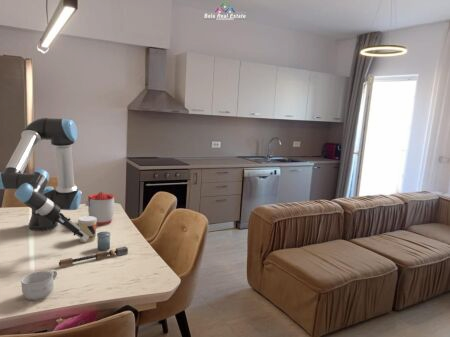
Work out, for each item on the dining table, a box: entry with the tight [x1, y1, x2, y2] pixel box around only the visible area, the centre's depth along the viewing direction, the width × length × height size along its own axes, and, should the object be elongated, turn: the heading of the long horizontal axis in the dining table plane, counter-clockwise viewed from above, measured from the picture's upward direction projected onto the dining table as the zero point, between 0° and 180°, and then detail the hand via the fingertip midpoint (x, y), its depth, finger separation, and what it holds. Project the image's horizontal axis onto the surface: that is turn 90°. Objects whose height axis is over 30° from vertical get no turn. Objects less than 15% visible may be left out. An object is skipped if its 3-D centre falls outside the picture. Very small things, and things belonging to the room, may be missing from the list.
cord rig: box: [58, 245, 129, 269], centre depth 165 cm, size 3×32×3 cm, turn 129°
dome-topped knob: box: [96, 231, 111, 252], centre depth 178 cm, size 6×6×8 cm
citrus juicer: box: [84, 191, 115, 226], centre depth 215 cm, size 16×17×20 cm
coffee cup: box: [77, 215, 97, 243], centre depth 188 cm, size 9×9×12 cm
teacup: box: [20, 269, 58, 301], centre depth 132 cm, size 14×11×8 cm
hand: (82, 234), depth 171 cm, fingers open, 13 cm apart
